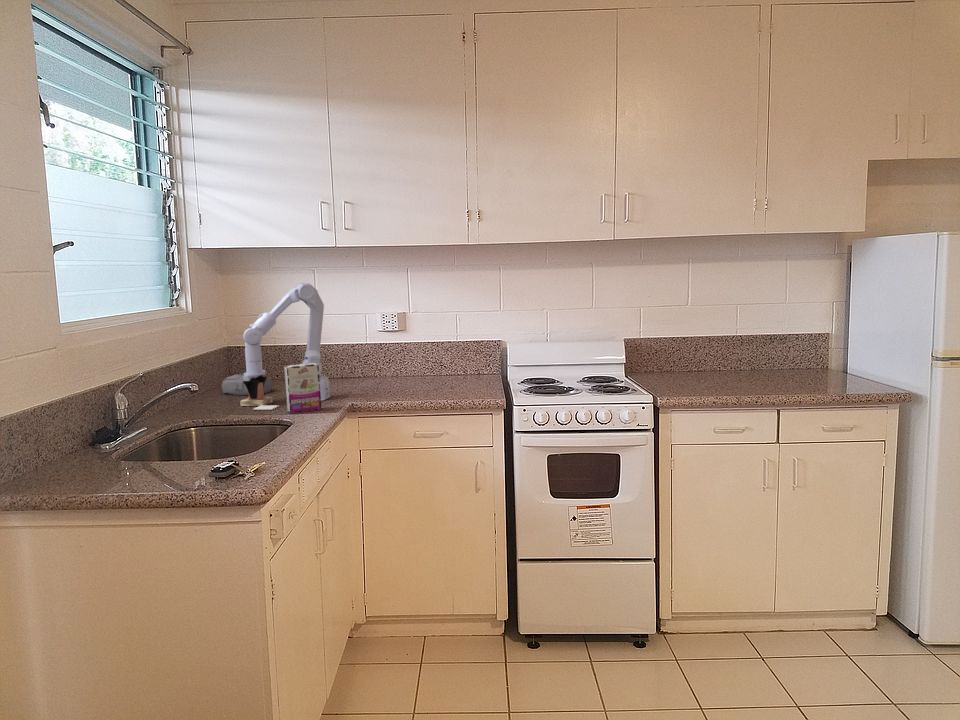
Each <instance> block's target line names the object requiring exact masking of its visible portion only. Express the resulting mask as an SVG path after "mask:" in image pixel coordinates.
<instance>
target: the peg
mask: <svg viewBox="0 0 960 720" xmlns="http://www.w3.org/2000/svg"><path fill="white" fill-rule="evenodd" d="M264 395H265V394H264V392H263V382H259V383H258V388H257V398H256V399H251V398H250V395H249V392H248V395H247V396H248V398H249V400H261V399H263V398H264V397H265V396H264Z"/></svg>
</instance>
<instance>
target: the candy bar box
mask: <svg viewBox="0 0 960 720" xmlns="http://www.w3.org/2000/svg"><path fill="white" fill-rule="evenodd" d="M283 366H284V382H285V392H286V393H285V394H286V406H287V412H288V411H289V412H290V413H289V412H288V413H289V414H294V413H293V412H299V413H303V412H302V411H307V412H312V411H311V410H316V411H321V410H322V401H321V394H320V380H319V366H318V364H317V363H309V364H302V363H300V364H291V365H290V364H289V365H283Z"/></svg>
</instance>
